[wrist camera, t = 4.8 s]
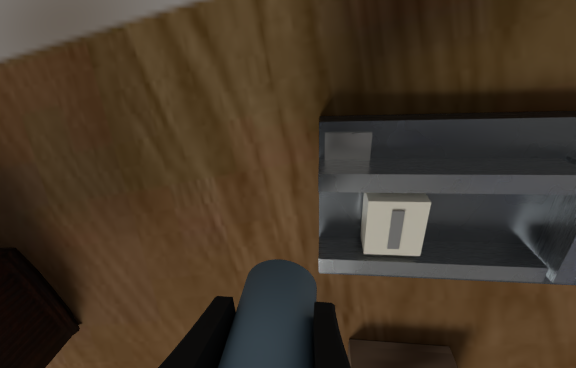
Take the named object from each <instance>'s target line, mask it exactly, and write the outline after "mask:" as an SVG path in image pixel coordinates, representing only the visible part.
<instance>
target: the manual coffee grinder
mask: <svg viewBox="0 0 576 368" xmlns="http://www.w3.org/2000/svg"><path fill="white" fill-rule="evenodd" d="M79 329H80V328H79V326H78V324H77V323H76V321H75V319H74V317H73V315H72V314H71V312H70V310H69V308H68V307H67V306H66V305H65V304H64V302H63V301H62V300H61V299H60V297H59V296H58V295H57V294H56V292H55V291H54V290H53V289H52V287H51V286H50V285H49V284H48V282H47V281H46V280H45V279H44V277H43V276H42V275H41V274H40V272H39V271H38V270H37V269H36V268H35V267H34V266H33V265H32V264H31V263H30V262H29V261H28V260H27V259H26V258H25V257H24V256H23V255H22V254H21V253H20V252H19V251H18V250H17V249H16V248H0V368H45V367H46V366H47V365H48V364H49V363H50V362H51V360H52V359H53V358H54V357H55V356H56V354H57V353H58V352H59V351H60V350H61V348H62V347H63V346H64V345H65V344H66V343H67V341H68V340H69V339H70V338H71V337H72V336H73V335H74V334H75V333H76V332H78V331H79Z"/></svg>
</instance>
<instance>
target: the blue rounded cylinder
mask: <svg viewBox="0 0 576 368" xmlns="http://www.w3.org/2000/svg"><path fill="white" fill-rule="evenodd" d="M316 293H317V287H316V282H315V280H314V278H313V276H312V275H311V274H310V273H309V272H308V271H307V270H306V269H305V268H303V267H302V266H300V265H298V264H296V263H294V262H291V261H286V260H268V261H264V262H262V263H259V264H258V265H256V266H255V267H253V268H252V269H251V271H250V272H249V274H248V276H247V279H246V283H245V286H244V289H243V292H242V295H241V298H240V301H239V304H238V307H237V310H236V314H235V317H234V320H233V323H232V326H231V329H230V332H229V335H228V338H227V341H226V345H225V348H224V351H223V354H222V357H221V360H220V363H219V366H218V368H314V338H313V318H314V302H316Z"/></svg>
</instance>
